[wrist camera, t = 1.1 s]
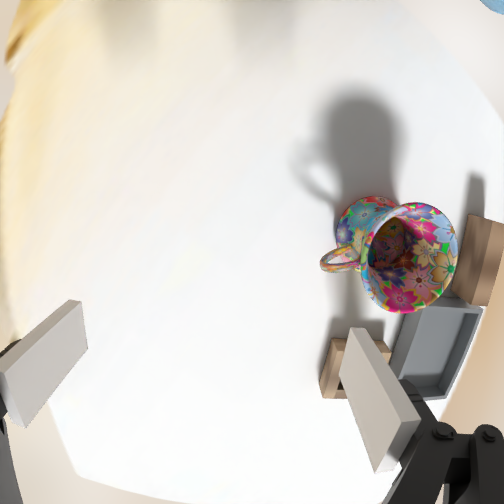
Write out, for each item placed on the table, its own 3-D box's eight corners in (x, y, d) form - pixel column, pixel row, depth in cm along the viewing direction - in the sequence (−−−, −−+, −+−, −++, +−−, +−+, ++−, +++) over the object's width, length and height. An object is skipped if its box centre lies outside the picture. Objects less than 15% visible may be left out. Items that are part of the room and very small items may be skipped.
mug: (404, 187, 33) (457, 197, 22) (408, 267, 35) (456, 301, 25) (300, 201, 33) (321, 215, 23) (310, 285, 35) (332, 330, 25)
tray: (411, 294, 36) (424, 305, 32) (469, 299, 36) (483, 309, 33) (379, 387, 39) (387, 403, 36) (435, 385, 39) (445, 398, 36)
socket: (331, 338, 37) (337, 350, 34) (383, 340, 37) (391, 352, 34) (318, 384, 39) (322, 398, 36) (367, 384, 39) (374, 398, 36)
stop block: (468, 213, 33) (492, 220, 28) (484, 218, 33) (508, 225, 28) (450, 290, 36) (471, 305, 31) (466, 292, 36) (487, 306, 31)
